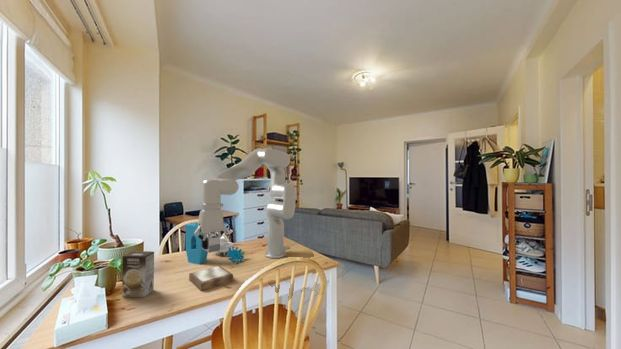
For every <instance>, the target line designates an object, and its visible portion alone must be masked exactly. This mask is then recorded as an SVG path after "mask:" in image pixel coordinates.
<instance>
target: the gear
mask: <svg viewBox="0 0 621 349" xmlns="http://www.w3.org/2000/svg"><path fill="white" fill-rule="evenodd" d="M226 253H227V254H226V257H228V260H229V261H232V263H233V264H235V263H236V264H239V263H241V262H243V259H244V258H245V256H244V255H245V253H246V251H243V250H242V248H240V249H239V247H238V246H236V247H235V246H234V245H233V246H232V247H231V248H229V249H228V251H227V252H226Z"/></svg>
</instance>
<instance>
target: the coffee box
mask: <svg viewBox="0 0 621 349" xmlns="http://www.w3.org/2000/svg"><path fill="white" fill-rule="evenodd" d="M121 274H122V278H121V279H122V283H121V284H122V285H121V286H122V288H121V290H122V295H121V297H124V298H125V297H128V298H130V297H132V298H133V297H135V298H136V297H137V298H138V297H139V298H145V297H146V296H148V295H149V294H150V293H152V292H153V291H154V288H155V287H154V285H155V284H154V283H155V282H154V281H155V277H154V276H155V251H151V250H150V251H146V250H145V251H143V250H133V251H130V252H128V253H126V254H124V255H122V273H121Z"/></svg>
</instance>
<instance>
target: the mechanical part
mask: <svg viewBox="0 0 621 349" xmlns="http://www.w3.org/2000/svg"><path fill="white" fill-rule="evenodd" d="M232 246H234V243H233V242H231V241H230V238H228V236H227V235H226V234H225V233H224V234H223V235H222V236H221V238H220V251H215V252H214V253H216V254H218V255H220V254H221V253H223V255H226V253H227V251H228V249H229V248H231V249H232Z"/></svg>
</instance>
